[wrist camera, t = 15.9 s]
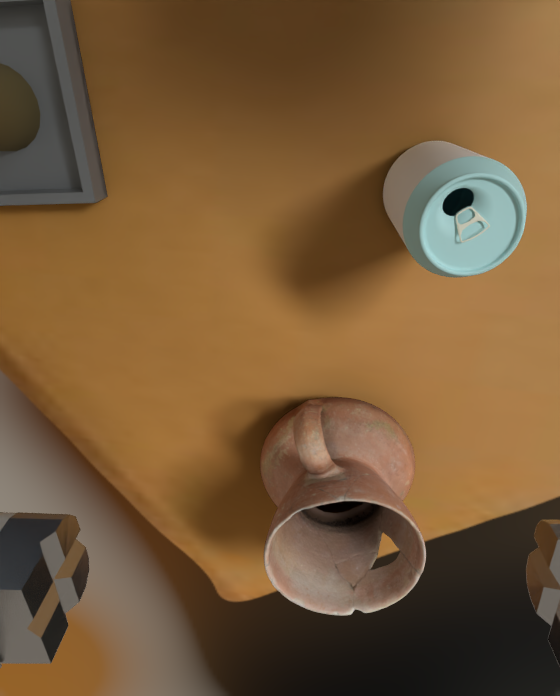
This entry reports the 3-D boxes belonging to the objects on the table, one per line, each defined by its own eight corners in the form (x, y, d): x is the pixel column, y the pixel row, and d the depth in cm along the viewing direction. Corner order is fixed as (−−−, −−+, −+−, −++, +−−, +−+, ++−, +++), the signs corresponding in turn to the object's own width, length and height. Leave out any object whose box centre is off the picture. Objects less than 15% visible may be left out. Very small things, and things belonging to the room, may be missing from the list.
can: (367, 217, 40) (387, 264, 29) (405, 125, 37) (443, 140, 26) (448, 247, 41) (496, 303, 30) (493, 159, 38) (564, 187, 27)
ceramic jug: (422, 497, 53) (458, 623, 40) (288, 521, 55) (282, 647, 42) (388, 346, 45) (419, 441, 33) (236, 382, 48) (210, 483, 35)
